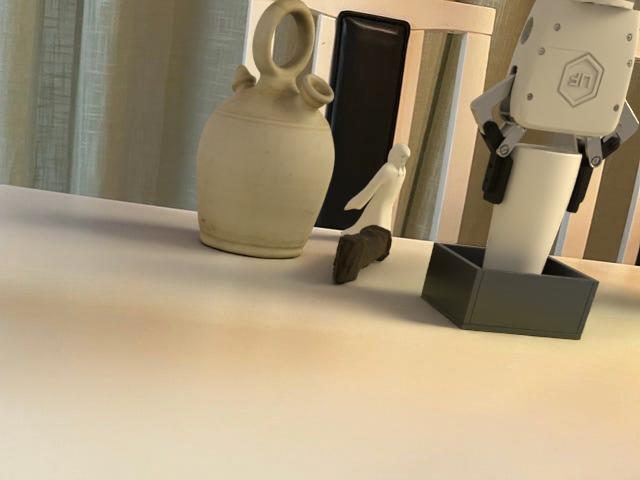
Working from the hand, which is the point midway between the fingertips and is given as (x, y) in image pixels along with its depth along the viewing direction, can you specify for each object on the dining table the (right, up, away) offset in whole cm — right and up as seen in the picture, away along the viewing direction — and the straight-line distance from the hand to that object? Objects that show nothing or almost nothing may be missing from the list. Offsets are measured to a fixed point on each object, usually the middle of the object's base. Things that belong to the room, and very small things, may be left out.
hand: (529, 204), depth 96 cm
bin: (-1, -9, +6) cm, 11 cm away
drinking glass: (-1, -9, +6) cm, 10 cm away
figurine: (-9, +10, +34) cm, 37 cm away
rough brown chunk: (-13, -1, +17) cm, 21 cm away
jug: (-25, +5, +23) cm, 34 cm away
